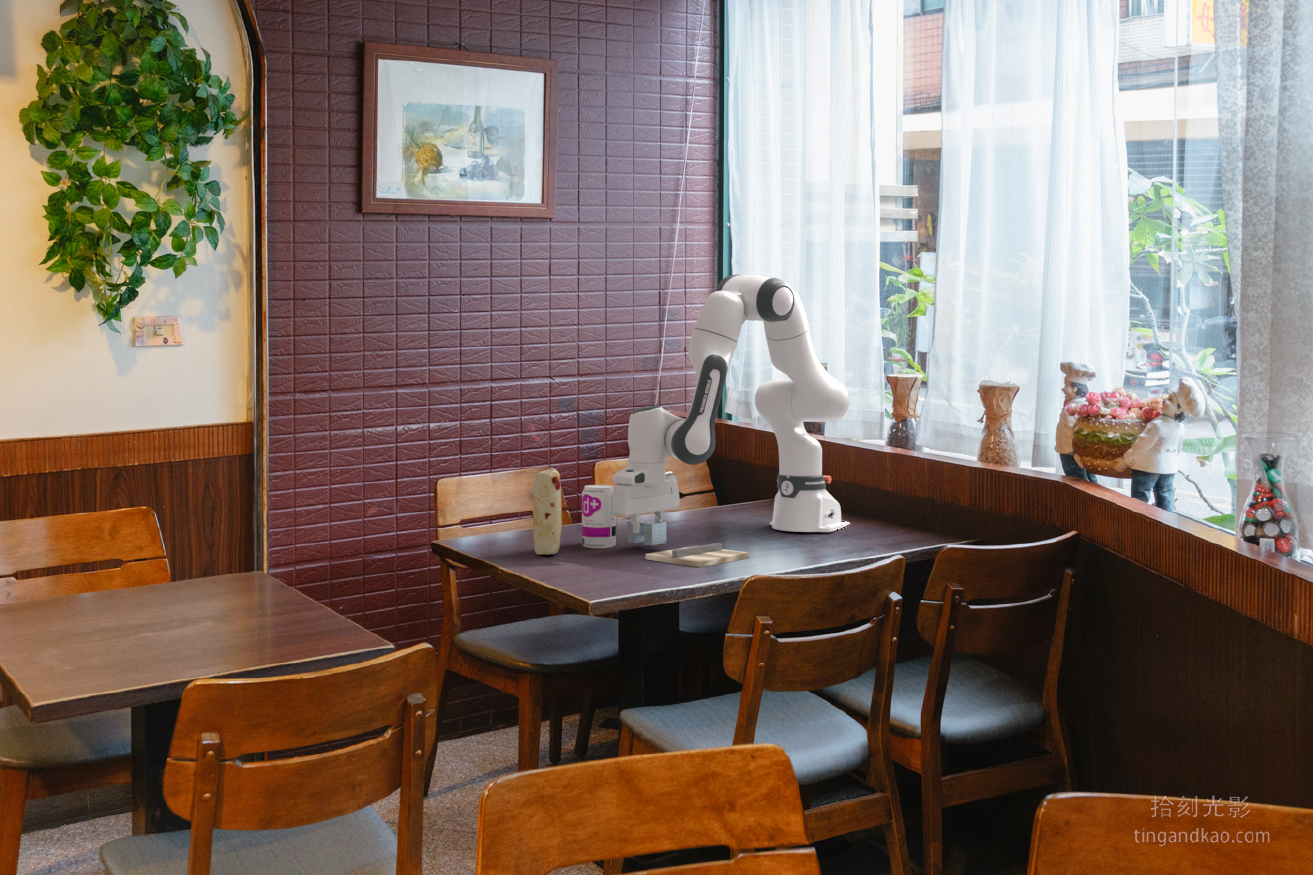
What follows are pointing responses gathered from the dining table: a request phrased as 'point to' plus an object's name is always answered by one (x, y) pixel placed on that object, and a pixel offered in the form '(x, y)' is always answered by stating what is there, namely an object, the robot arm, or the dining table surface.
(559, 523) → the food model
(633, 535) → the saddle block
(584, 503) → the supplement can
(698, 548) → the guide rail
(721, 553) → the rail base
